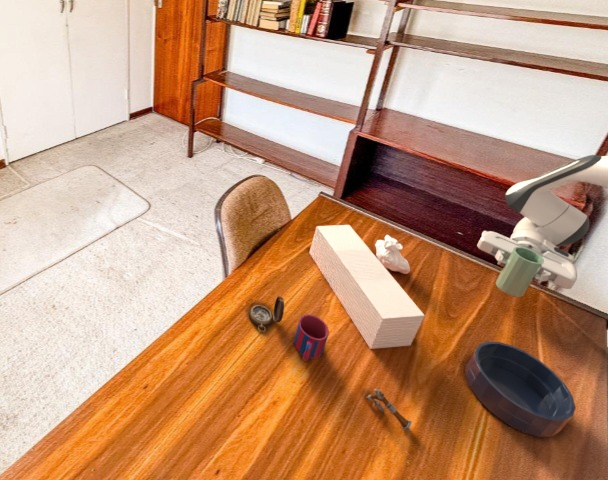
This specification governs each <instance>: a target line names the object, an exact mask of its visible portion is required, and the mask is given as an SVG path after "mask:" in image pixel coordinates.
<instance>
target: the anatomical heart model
mask: <svg viewBox="0 0 608 480" xmlns="http://www.w3.org/2000/svg"><path fill="white" fill-rule="evenodd" d="M374 245H375V246H374V247H375V251H376V254H375V256H376V258H377V259H378V260H379V261H380V262H381V264H382V265H383V266H384V267H385V268H386V270H390V271H392V272H399V273H401V274H402V275H407V274H409V273H410V271H411V266H410V263H409V262H408V259H406V258H404V256H402V253H401V250H403V247H404V246H403V244H402V243H399V242H398V239H396V238H394V237H392V236H391V235H389V234H386V235H385V236H384V239H383V240H382V239H377V241H376V243H375V244H374Z"/></svg>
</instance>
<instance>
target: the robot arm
mask: <svg viewBox="0 0 608 480" xmlns="http://www.w3.org/2000/svg"><path fill="white" fill-rule="evenodd" d="M576 182H578V183H579V182H580V183H586V184H591V185H594V186H599V187H602V188H605V189H608V155H597V154H590V155H586V156H582V157H579V158H576V159H575V160H572V161H570V162H569V161H568V162H567V163H565V164H562V165H560V166H557V167H555V168H553V169H551V170H549V171H545V172H544V173H541V174H539V175H537V176H533V177H531V178H528V179H524V180H523V181H519V182H517V183H515V184H513V185H512V186H511V187H509V188H508V189H507V191H506V192H505V194H504V198H505V203H506V205H507V207H508V208H510V209H511V210H513V211H515V212H516V213H517V214H520V215H522V216H523V218H522V219H520V220H519V221H518V222H517V224H516V225H515V227H514V228H513V231H512V234H511V235H510V237H507V236H505V235H503V234H500V233H498V232H495V231H492V230H483V231H482V232H481V234H480V235H481V237H480V239H479V240H478V243H477V244H476V247H477V248H478V249H479V250H481V251H482V252H484V253H486V254H489V255H491V256H493V257H494V258H495V260H496V261H497V265H498V266H500V267H502V268H503V267H504V266H505V264H506V262H507V260H508V258H509V256H510V254H511V252H512V251H513V249H514V248H515V247H524V248H527V249H530V250H532V251H534V252H536V253H537V254H539V255H540V256H541V257H542V258H543V259H544V263H543V264H542V266H541V268H540V269H539V271H538V273H537V274H536V276H535V277H534V279H533V281H532V282H534V283H537V284H539V285H540V284H541V283H542V282H550V283H552V284H554V285H556V286H559V287H561V288H562V289H565V290H571V289H572V288H573V287H574V285H575V284H576V282H577V280H578V270H577V266H576V265H575V264H574V261H575V257H574V255H572V254H570V253H569V252H567V251H565V250H563V249H561V248H559V247H565V246H569V245H572V244H575V243H577V242H578V241H580V240H581V239H582V238H584V237H585V235H586V234H587V232H588V231H589V229H590V218H589V216H588V215H587V214H586V213H584V212H583V211H581V210H580V209H578V208H576V207H575V206H573V205H572V204H571V203H568V202H567V201H565V200H564V199H563V198H561V197H559V196H557V194H554V193H553V192H551V191H552V190H555V189H557V188H560V187H562V186H565V185H568V184H571V183H576Z"/></svg>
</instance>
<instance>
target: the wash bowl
mask: <svg viewBox="0 0 608 480" xmlns="http://www.w3.org/2000/svg"><path fill="white" fill-rule="evenodd" d="M464 368H465V369H464V370H465V371H464V373H465V375H464V376H465V379H466V382H467V383H468V386H469V388H470V390H471V391H472V392H473V394H474V395H475V396H476V398H477V400H478V401H479V402H480V403H481V405H483V406H484V407H485V408H486V409H487V410H488V411H489V412H490V413H491V414H493V415H494V416H495V417H497V418H499V419H500V420H501V421H503V423H505V424H507V425H509V426H510V427H512V428H514V429H516V430H518V431H520V432H522V433H525V434H528V435H532V436H534V437H538V438H551V437H553V436H555V435H557V434H559V433H560V432H561V431H562V429H564V427H565V426H566V425H567V423H568V422H569V421H570V420H571V419H572V418H573V417H574V415H575V411H576V402H575V399H574V396H573V394H572V393H571V391H570V389H569V388H568V386H567V385H566V383H565V382H564V381H563V379H561V378H560V377H559V376H558V374H556V372H555V371H553V370H552V369H551V368H550V367H549V366H548V365H546V364H545V363H543V362H542V361H541V360H540V359H538V358H536V357H535V356H533V355H532V354H530V353H528V352H527V351H525V350H523V349H520V348H518V347H516V346H513V345H511V344H508V343H505V342H501V341H500V342H499V341H484V342H482V343H480V344H478V345H477V347H476V348H475V349H474V352H473V354H472V355H471V357H470V359H469V360H468V362H467V363H466V365H465V366H464Z"/></svg>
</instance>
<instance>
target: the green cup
mask: <svg viewBox="0 0 608 480" xmlns="http://www.w3.org/2000/svg"><path fill="white" fill-rule="evenodd" d="M543 263H544V259H543V258H542V257H541V256H540V255H539V254H537V253H536V252H534V251H532V250H530V249H527V248H524V247H515V248H514V249H513V251H512V252H511V254H510V256H509V258H508V260H507V262H506V264H505V266H504V267H503V266H502V269H501V271H500V272H499V274H498V275H497V278H496V280H495V285H496V287H497V288H498V289H499V290H500V291H501V292H503V293H505V294H507V295H509V296H511V297H515V298H522V297H524V295H525V294H526V293H527V291H528V289H529V288H530V286H531V284H532V283H533V282H534V281H533V279H534V277H535V276H536V274H537V273H538V271H539V269H540V268H541V266H542V264H543Z"/></svg>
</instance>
